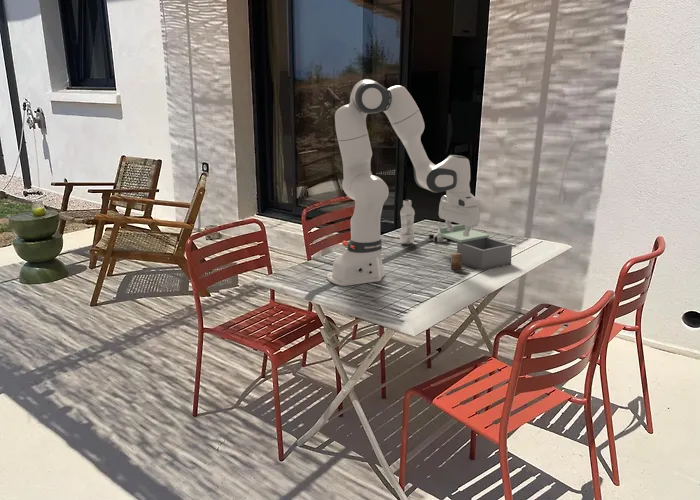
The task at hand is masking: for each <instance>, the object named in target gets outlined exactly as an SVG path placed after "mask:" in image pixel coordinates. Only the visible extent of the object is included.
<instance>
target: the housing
mask: <svg viewBox="0 0 700 500" xmlns="http://www.w3.org/2000/svg"><path fill="white" fill-rule="evenodd" d="M456 246H457V247H456V248H457V249H456V253H461V254H462V263H461V264H463V265H465V266H469V267H471V268H474V269H476V270H479V271H481V272H483V271H488V270H491V269H495V268H496V269H497V268H500V267H504V266H509V265H512V256H513V255H512V254H513V253H512V252H513V251H512V250H513V245H512V244H510V243H508V242H504V241H501V240H497V239H494V238H492V237H488V238H482V239H477V240H472V241H467V242H462V243H460V242H457V241H456Z"/></svg>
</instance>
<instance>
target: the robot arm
mask: <svg viewBox="0 0 700 500" xmlns="http://www.w3.org/2000/svg"><path fill="white" fill-rule="evenodd" d="M381 112H383V113H384V114H385V115H386V117H387V118H388V120H389V124H390V125H391V127H392V129H393V130H394V132H395V134H396V136H397V137H398V138H399V139H400V142H401V143H402V145H403V146H404V149H405V151H406V154H407V155H408V157H409V159H410V162H411V164H412V168H413V177H414V181H415V183H416V185H417V186H418V187H420V188H421V189H425V190H427V191H430V192H432V193H442V192H445V193H446V194H445V195H442V196H441V198H440V201H439V204H438V205H439V206H438V216H439V219H441V220H445V225H446V227H447V231H449V232H452V231H453V227H452V226H453V224H452V222H453V223H456V224H458V225H459V224H462V225H465V228H466V229H465V231H464V232H463V236H465V237H468V236H469V232H470V230H472V228H474V227H477V226H479V224H480V219H481V217H480V207H479V205H480V203H481V202H480V201H481V200H480V199H479V198H477V197H476V196H474V195H473V193H471V187H470V182H471V165H470V163H471V162H470V160H469V158H467V156H463V155H457V154H449V155H448V156H447V157H446V158H445V159H444V160H443V161H441V162H439V163H437V164H435V163H433V162H432V161H431V160H430V159H429V157H428V155H427V152H426V150H425V148H424V145H423V143H422V141H421V139H422V138H421V137H422V135H423V133H424V130H425V126H426V125H425V121H424V118H423V115H422V113H421V111H420V108H419V107H418V105H417V103H416V101H415V100H414V98H413V95H411V93H410V92H409V91H408V89H407V88H406V87H405V86H402V85H393V86H390V87H389V88H387V87H385V86H383V85H382V84H380V83H379V82H377V81H376V80H373V79H370V78H363V79H360V80H358V81H356V83H354V84H353V86H352V88H351V90H350V93H349V96H348V101H347V104H345V105H342V106H340V107H339V108H337V110H336V111H335V114H334V122H335V123H334V126H335V132H336V137H337V142H338V147H339V150H340V151H339V152H340V156H341V161H342V172H343V175H342V176H343V179H342V182H341V184H342V185H341V186H342V190H343V191H344V194H345V195H346V196H347V197H348V198H349V199H351V200H353V201H354V210H353V215H352V216H351V218H350V240H349V241H346V240H342V242H341V245H342V246H343V247H345V248H346V247H347V248H346V249H345V251H344V252H343V253H342V254H341V255H340V256H338V257H337V259H335V260H334V262H333V264H332V271H331V272H329V273H327V274H326V280H327V281H329V282H331V284H332V283H333V285H334V284H335V285H338V286H343V287H344V286H346V287H347V286H353V285H354V286H355V285H361V284H362V285H363V284H369V283H375V282H380V281H382V278H384V277H385V275H386V272H385V268H384V265H383V260H382V259H383V258H382V249H383V245H382V243H383V242H382V238H381V217H382V213H383V212H382V211H383V208H384V207H383V206H384V203H385V202H386V201H387V199H388V197H389V194H390V193H389V190H390V189H389V186H388V185H387V183H386V182H385V181H384V180H383V179H382V178H381V177H379V176H377V175H373V173H372V170H371V169H372V167H371V166H372V165H371V162H372V161H371V160H372V157H373V151H372V146H371V141H370V137H369V132H368V128H367V116H368V115H369V114H370V115H372V114H373V115H374V114H376V113H381Z"/></svg>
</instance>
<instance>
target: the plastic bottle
mask: <svg viewBox="0 0 700 500" xmlns="http://www.w3.org/2000/svg"><path fill="white" fill-rule="evenodd" d="M415 212H416V211H415V209H414V208H413V206H412V200H410V199H405V200H402V207H401V209H400V212H399V214H400V225H401V227H400V236H399V241H400V243H401V244H402V245H411V244H414V242H415V239H416V238H415V233H414V221H415V214H416V213H415Z"/></svg>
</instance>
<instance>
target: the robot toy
mask: <svg viewBox="0 0 700 500" xmlns="http://www.w3.org/2000/svg"><path fill="white" fill-rule="evenodd" d="M439 232H440V228H439V229H437V231H436V233H434V234H428V236H425V238H426V239H428V240H432V239H433V242H435V243H441V242H442V243H447V242H448V240H449V239H448V238H445V237H442V236H439V235H438V233H439Z"/></svg>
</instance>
